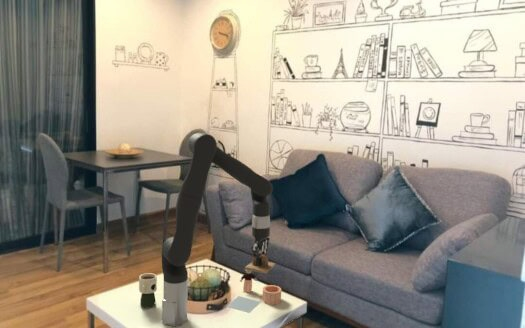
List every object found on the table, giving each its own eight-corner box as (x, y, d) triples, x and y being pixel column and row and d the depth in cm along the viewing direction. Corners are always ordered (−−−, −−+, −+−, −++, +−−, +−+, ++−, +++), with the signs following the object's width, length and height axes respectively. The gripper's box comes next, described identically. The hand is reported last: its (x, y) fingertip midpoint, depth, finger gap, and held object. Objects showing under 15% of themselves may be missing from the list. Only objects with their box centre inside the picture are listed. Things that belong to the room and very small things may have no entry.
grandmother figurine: (241, 295, 196) (242, 268, 194) (238, 291, 199) (239, 265, 197) (257, 292, 199) (258, 266, 197) (254, 289, 202) (255, 263, 200)
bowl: (276, 307, 185) (276, 294, 185) (259, 303, 189) (259, 290, 188) (283, 299, 193) (284, 287, 192) (267, 295, 196) (267, 283, 195)
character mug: (151, 312, 177) (151, 282, 175) (135, 311, 178) (134, 281, 176) (160, 300, 188) (160, 271, 186) (144, 299, 189) (144, 270, 187)
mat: (249, 314, 179) (249, 312, 179) (226, 307, 184) (226, 306, 184) (260, 303, 189) (260, 301, 189) (238, 297, 194) (238, 295, 194)
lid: (266, 273, 180) (266, 260, 179) (244, 269, 184) (244, 256, 183) (275, 265, 189) (276, 252, 188) (255, 260, 193) (255, 248, 192)
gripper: (260, 219, 191) (259, 256, 194) (245, 228, 178) (245, 268, 181) (275, 221, 188) (275, 259, 191) (262, 231, 175) (261, 271, 178)
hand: (260, 263), depth 186 cm, fingers closed on lid, 2 cm apart
